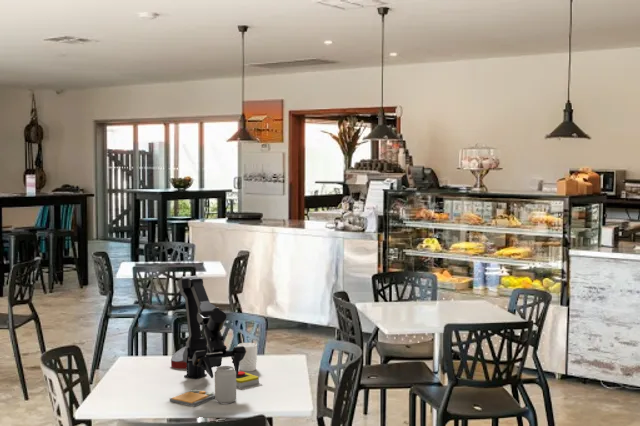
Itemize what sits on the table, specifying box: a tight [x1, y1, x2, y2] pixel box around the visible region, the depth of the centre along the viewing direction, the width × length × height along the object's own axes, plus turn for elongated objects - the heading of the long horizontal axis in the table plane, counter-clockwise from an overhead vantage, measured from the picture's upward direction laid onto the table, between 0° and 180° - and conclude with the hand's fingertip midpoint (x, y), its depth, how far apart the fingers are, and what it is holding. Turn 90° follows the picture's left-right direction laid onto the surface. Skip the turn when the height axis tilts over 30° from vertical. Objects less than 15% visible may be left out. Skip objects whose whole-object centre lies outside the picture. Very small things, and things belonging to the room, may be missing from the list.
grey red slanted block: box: [170, 345, 189, 370], centre depth 337 cm, size 11×10×10 cm
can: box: [214, 365, 237, 405], centre depth 288 cm, size 8×8×12 cm
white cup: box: [237, 342, 258, 372], centre depth 331 cm, size 8×8×10 cm
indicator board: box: [169, 389, 215, 407], centre depth 291 cm, size 11×13×2 cm
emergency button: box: [236, 370, 263, 390], centre depth 311 cm, size 9×4×15 cm
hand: (225, 376), depth 288 cm, fingers open, 9 cm apart
